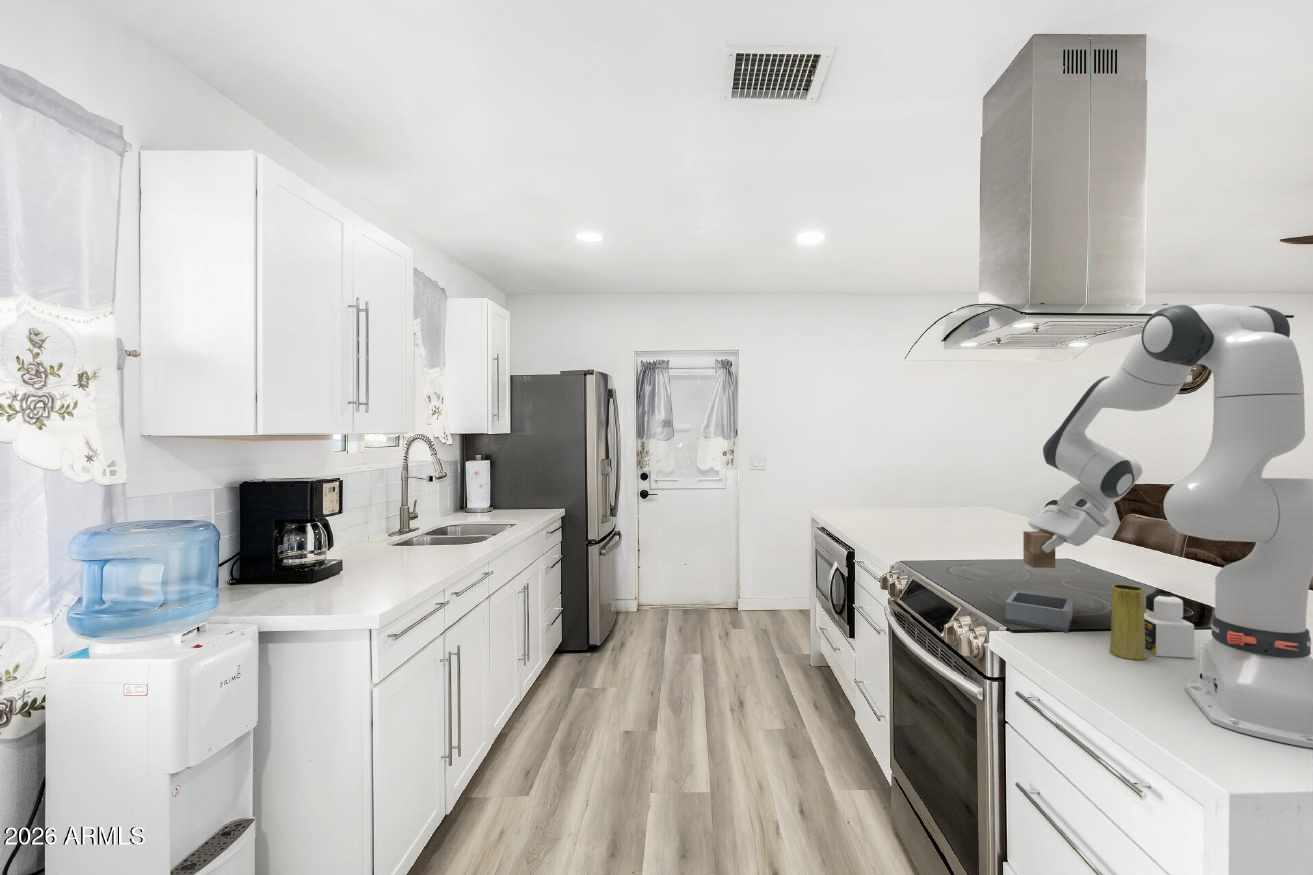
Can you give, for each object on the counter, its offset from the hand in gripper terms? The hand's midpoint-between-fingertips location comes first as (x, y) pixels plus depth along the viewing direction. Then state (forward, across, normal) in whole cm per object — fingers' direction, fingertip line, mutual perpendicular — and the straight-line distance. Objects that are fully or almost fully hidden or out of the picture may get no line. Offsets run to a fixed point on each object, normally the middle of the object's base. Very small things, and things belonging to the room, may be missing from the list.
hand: (1036, 547), depth 149 cm
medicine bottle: (+1, +19, +24) cm, 31 cm away
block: (+3, 0, +4) cm, 4 cm away
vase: (+8, +22, +18) cm, 30 cm away
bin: (+12, 0, +13) cm, 18 cm away
